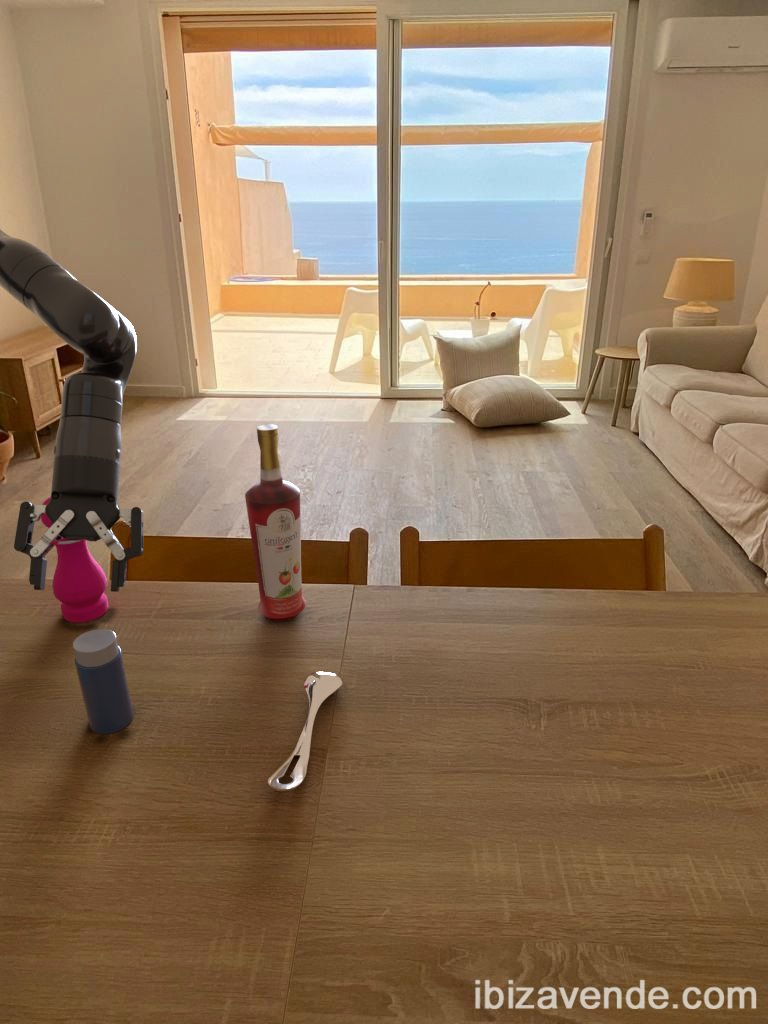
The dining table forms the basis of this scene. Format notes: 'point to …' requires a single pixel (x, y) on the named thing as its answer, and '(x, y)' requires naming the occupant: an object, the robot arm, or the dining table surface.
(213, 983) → the dining table surface
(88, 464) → the robot arm
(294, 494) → the liquor
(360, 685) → the dining table surface
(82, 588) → the pepper mill
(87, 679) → the cylinder
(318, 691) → the ice cream scoop
